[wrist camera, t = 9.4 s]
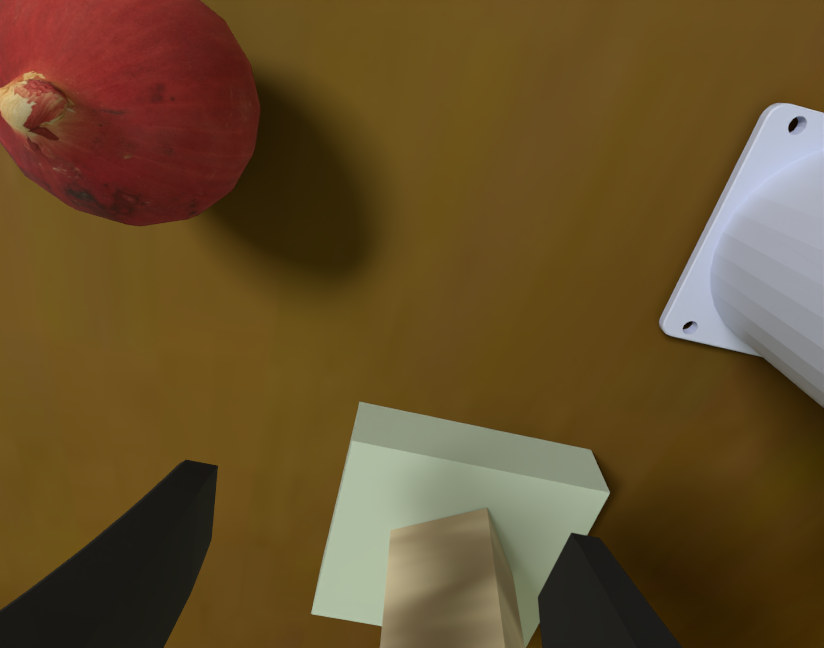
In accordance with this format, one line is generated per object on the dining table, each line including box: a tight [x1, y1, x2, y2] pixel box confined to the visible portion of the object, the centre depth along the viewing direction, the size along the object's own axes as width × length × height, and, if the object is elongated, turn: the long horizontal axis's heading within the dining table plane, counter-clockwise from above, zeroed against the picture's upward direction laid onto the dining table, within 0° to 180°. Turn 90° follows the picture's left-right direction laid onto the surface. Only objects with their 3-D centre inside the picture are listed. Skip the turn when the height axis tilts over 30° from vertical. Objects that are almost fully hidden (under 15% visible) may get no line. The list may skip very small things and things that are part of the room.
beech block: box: [380, 508, 525, 648], centre depth 18 cm, size 4×4×6 cm
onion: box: [0, 0, 261, 226], centre depth 12 cm, size 6×6×8 cm
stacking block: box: [311, 402, 610, 648], centre depth 23 cm, size 10×10×3 cm
